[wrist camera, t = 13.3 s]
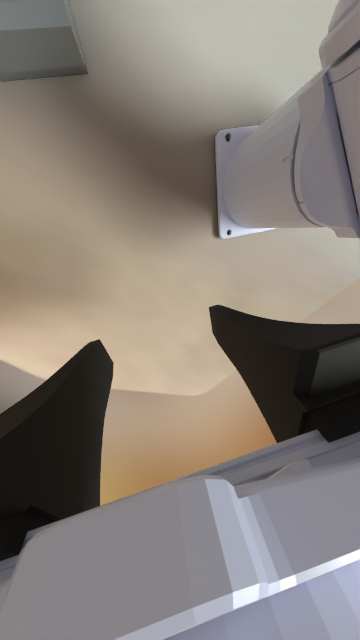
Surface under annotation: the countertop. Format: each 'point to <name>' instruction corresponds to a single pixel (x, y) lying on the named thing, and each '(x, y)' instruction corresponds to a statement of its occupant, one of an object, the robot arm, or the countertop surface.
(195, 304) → the countertop surface
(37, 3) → the grey tray
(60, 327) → the countertop surface
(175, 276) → the countertop surface
